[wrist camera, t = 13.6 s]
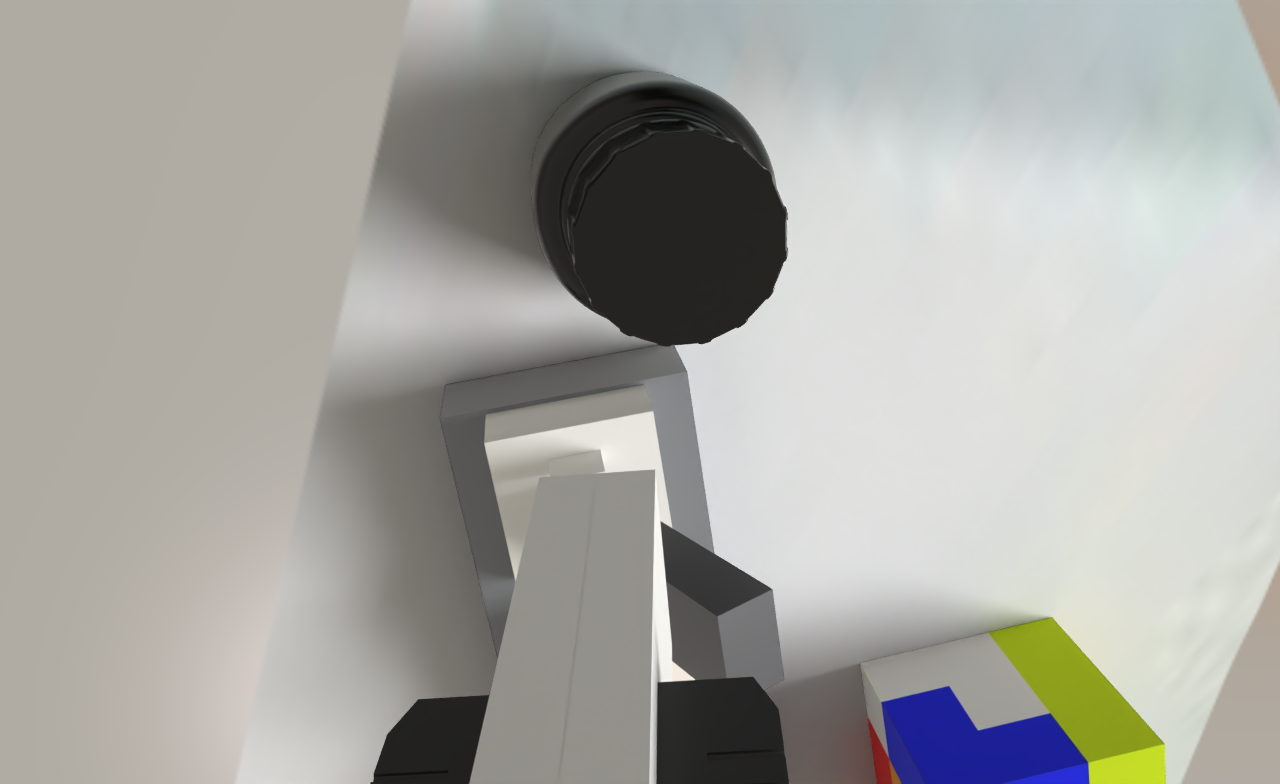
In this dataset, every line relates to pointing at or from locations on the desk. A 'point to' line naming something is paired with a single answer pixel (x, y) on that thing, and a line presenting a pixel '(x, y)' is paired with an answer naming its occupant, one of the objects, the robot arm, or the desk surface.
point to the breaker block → (602, 443)
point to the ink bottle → (658, 208)
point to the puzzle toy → (1005, 714)
